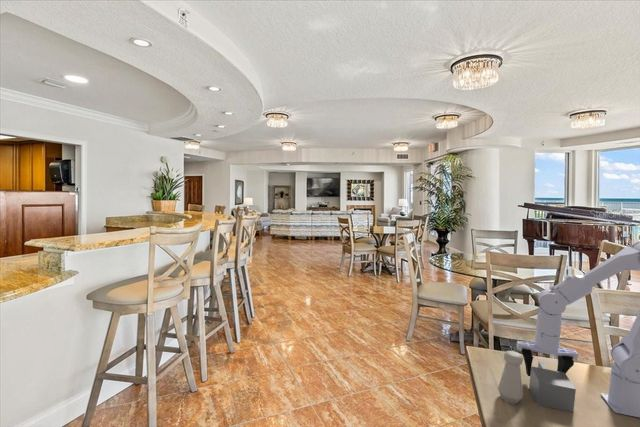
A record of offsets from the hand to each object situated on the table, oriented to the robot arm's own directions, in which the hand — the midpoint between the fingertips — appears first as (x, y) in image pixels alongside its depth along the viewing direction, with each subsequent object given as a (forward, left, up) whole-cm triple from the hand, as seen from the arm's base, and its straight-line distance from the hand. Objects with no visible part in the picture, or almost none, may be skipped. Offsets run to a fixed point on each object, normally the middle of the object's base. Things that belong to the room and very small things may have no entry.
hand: (543, 377), depth 96 cm
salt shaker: (+11, +11, -3) cm, 15 cm away
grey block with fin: (0, +4, -2) cm, 4 cm away
